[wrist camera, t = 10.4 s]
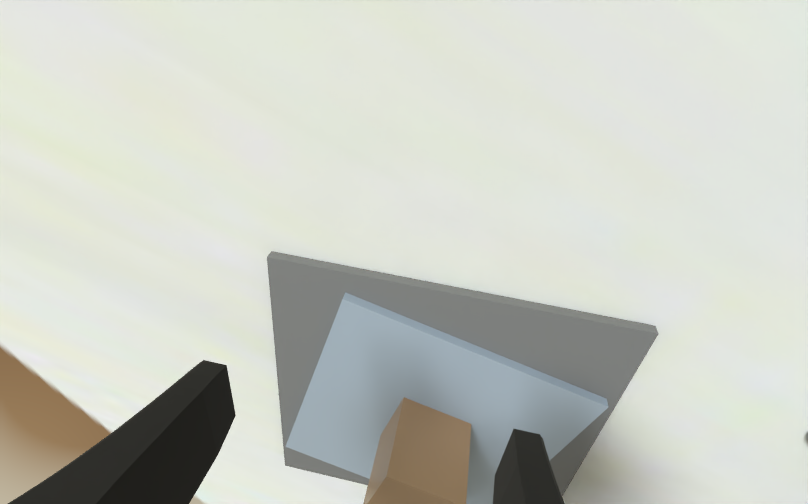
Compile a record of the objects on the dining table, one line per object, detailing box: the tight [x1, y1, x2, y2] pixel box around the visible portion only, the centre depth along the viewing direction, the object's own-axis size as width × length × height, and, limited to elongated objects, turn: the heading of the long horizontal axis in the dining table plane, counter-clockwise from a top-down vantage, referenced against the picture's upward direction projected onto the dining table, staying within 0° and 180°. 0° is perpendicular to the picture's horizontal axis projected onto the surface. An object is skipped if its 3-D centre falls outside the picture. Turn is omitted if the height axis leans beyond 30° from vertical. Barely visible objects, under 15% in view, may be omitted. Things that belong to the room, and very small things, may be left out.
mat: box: [267, 251, 658, 496], centre depth 26 cm, size 18×18×1 cm
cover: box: [285, 293, 609, 504], centre depth 24 cm, size 14×14×5 cm
